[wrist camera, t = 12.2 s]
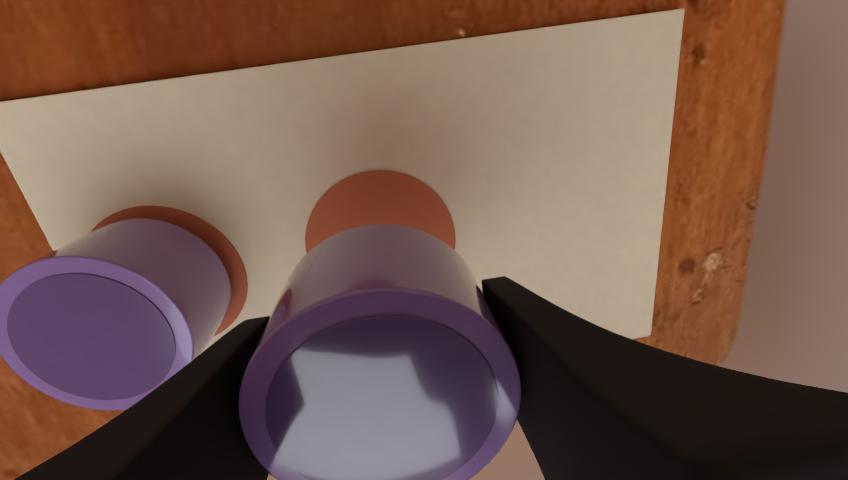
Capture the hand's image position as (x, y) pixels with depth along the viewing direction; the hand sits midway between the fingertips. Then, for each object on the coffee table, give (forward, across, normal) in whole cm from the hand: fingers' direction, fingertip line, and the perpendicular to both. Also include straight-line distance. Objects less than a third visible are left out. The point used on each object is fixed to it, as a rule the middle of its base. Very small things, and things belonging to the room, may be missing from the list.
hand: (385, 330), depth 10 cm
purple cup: (+1, 0, 0) cm, 1 cm away
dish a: (+6, +9, 0) cm, 10 cm away
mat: (+6, 0, 0) cm, 7 cm away
